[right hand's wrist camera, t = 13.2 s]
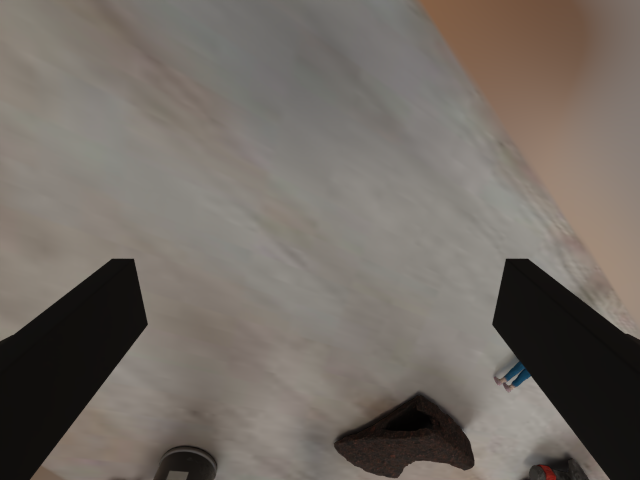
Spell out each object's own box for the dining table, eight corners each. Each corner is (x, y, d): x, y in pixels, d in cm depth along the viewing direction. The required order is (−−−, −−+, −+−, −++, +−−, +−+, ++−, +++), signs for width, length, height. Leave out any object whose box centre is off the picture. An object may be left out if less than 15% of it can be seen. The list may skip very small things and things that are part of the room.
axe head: (394, 504, 61) (328, 488, 54) (384, 453, 67) (324, 433, 60) (487, 465, 52) (423, 441, 46) (466, 411, 59) (407, 384, 52)
